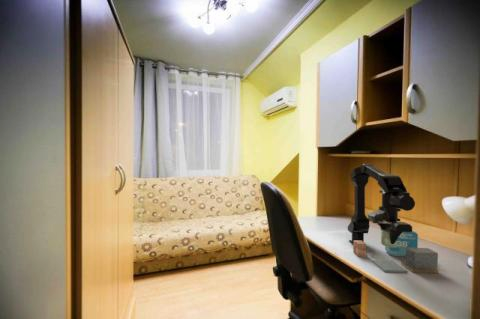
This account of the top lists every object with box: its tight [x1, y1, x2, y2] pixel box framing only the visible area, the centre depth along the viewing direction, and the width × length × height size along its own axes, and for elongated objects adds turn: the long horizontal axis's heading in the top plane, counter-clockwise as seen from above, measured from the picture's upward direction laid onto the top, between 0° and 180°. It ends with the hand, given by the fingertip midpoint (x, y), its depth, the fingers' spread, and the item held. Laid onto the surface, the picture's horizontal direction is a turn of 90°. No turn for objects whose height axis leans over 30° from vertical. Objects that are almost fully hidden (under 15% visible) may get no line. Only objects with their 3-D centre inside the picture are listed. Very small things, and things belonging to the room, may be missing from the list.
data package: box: [384, 230, 419, 258], centre depth 108 cm, size 12×4×12 cm, turn 77°
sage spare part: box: [380, 230, 397, 248], centre depth 95 cm, size 4×4×6 cm
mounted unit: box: [400, 247, 440, 274], centre depth 94 cm, size 7×10×8 cm
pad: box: [371, 259, 408, 274], centre depth 95 cm, size 9×9×1 cm
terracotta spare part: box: [352, 240, 367, 257], centre depth 107 cm, size 4×4×6 cm
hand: (388, 241), depth 95 cm, fingers closed on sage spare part, 4 cm apart
